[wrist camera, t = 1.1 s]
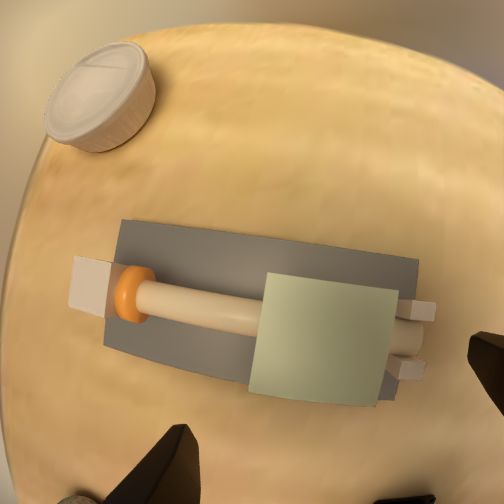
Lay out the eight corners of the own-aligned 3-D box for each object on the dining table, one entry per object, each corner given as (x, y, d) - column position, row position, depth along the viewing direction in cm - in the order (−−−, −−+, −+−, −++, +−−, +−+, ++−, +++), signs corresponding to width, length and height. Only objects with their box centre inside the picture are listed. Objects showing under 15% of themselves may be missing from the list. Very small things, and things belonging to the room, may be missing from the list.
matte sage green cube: (361, 291, 17) (399, 290, 10) (348, 368, 16) (375, 407, 10) (276, 279, 17) (267, 272, 11) (264, 356, 17) (247, 392, 10)
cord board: (411, 261, 20) (455, 249, 13) (388, 394, 19) (421, 430, 12) (131, 223, 23) (80, 200, 17) (113, 342, 22) (59, 354, 16)
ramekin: (168, 57, 26) (149, 25, 20) (166, 144, 24) (139, 113, 19) (82, 91, 27) (57, 67, 22) (68, 175, 25) (34, 156, 20)
